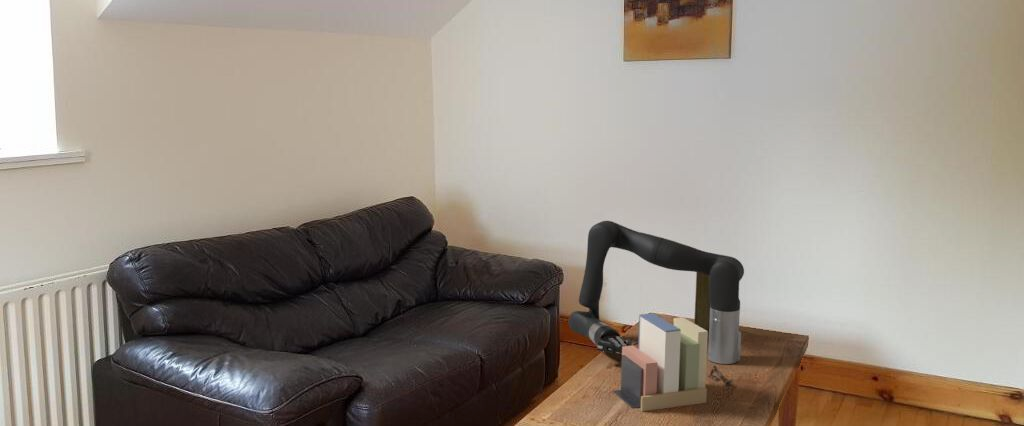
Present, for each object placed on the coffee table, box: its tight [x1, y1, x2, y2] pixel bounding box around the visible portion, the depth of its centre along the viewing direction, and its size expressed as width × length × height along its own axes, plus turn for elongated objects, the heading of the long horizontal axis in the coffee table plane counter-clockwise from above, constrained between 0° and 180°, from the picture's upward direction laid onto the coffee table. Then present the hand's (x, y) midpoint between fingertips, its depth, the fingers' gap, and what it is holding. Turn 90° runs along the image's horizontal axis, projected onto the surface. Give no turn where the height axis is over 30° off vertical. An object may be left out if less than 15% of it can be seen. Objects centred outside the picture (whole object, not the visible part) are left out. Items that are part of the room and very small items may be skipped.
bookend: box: [612, 355, 643, 409], centre depth 242 cm, size 3×12×11 cm, turn 18°
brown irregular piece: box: [708, 364, 732, 387], centre depth 256 cm, size 2×8×4 cm, turn 32°
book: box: [693, 272, 710, 340], centre depth 300 cm, size 16×6×25 cm, turn 168°
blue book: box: [637, 312, 681, 394], centre depth 244 cm, size 5×16×22 cm, turn 18°
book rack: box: [621, 316, 708, 412], centre depth 243 cm, size 21×16×20 cm
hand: (627, 353), depth 263 cm, fingers closed
